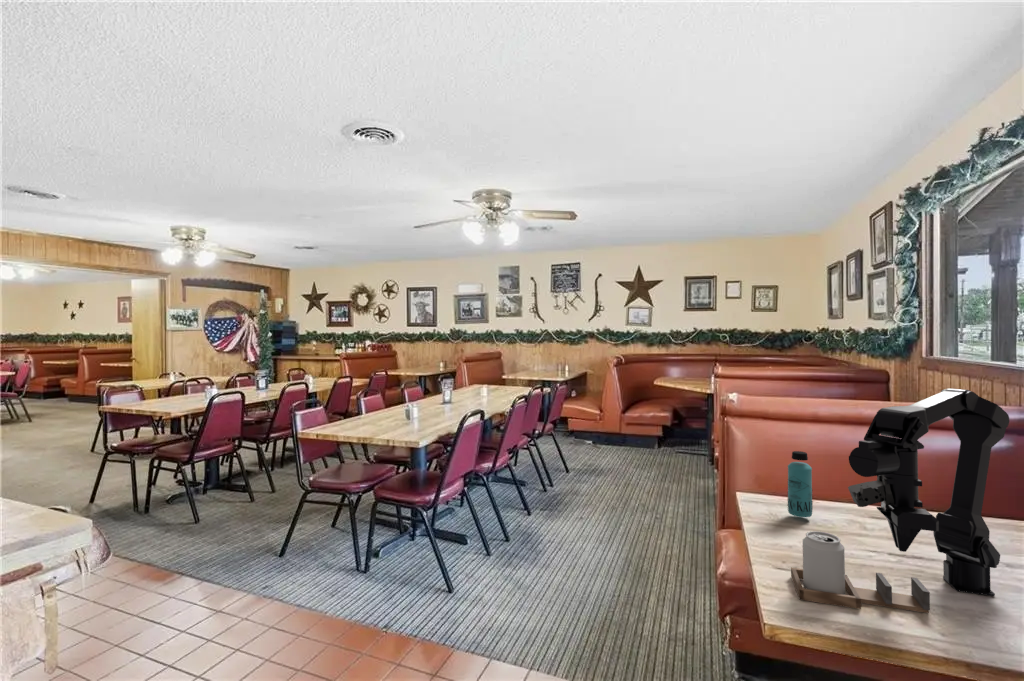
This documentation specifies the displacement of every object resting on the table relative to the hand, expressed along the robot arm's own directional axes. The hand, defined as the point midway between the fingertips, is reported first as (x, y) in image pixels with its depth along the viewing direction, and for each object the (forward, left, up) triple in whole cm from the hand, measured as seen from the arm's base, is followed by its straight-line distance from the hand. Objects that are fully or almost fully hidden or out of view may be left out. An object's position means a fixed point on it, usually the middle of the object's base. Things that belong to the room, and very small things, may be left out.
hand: (900, 549), depth 98 cm
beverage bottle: (+10, -47, -11) cm, 49 cm away
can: (+13, 0, -11) cm, 18 cm away
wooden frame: (+8, 0, -11) cm, 13 cm away
